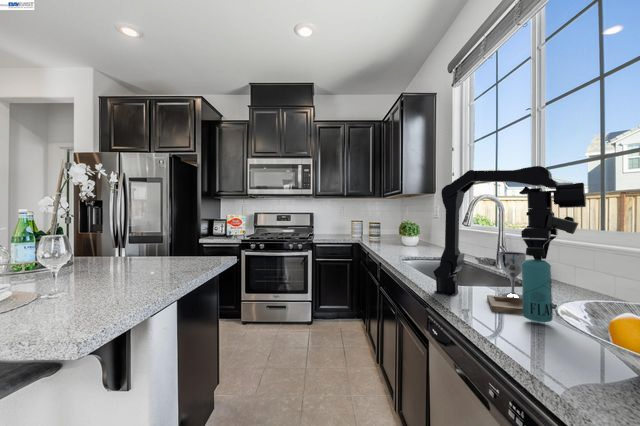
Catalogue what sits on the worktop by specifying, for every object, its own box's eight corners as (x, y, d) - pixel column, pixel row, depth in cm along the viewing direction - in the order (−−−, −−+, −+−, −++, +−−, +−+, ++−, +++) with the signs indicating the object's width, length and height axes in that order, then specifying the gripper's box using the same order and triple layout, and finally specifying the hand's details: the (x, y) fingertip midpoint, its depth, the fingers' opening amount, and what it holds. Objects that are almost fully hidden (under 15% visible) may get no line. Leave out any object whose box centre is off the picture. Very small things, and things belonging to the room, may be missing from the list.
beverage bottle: (527, 326, 73) (524, 248, 73) (518, 317, 79) (516, 245, 79) (558, 329, 71) (555, 248, 71) (547, 320, 77) (545, 246, 77)
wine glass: (518, 292, 104) (517, 251, 104) (532, 299, 96) (531, 254, 96) (495, 292, 105) (494, 251, 105) (507, 298, 97) (506, 254, 97)
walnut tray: (492, 311, 85) (491, 305, 85) (487, 299, 96) (487, 294, 96) (544, 316, 80) (544, 310, 80) (532, 303, 91) (532, 298, 91)
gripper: (572, 207, 73) (574, 268, 73) (578, 207, 86) (580, 259, 86) (520, 208, 81) (521, 263, 81) (532, 209, 94) (534, 256, 94)
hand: (541, 260), depth 85 cm, fingers open, 9 cm apart
